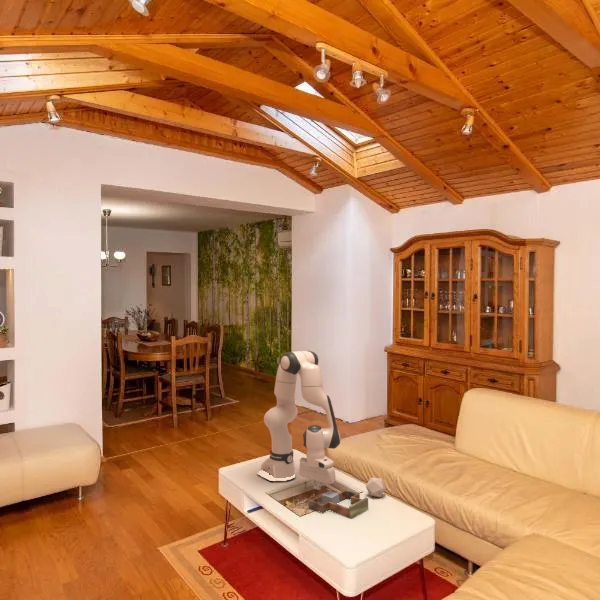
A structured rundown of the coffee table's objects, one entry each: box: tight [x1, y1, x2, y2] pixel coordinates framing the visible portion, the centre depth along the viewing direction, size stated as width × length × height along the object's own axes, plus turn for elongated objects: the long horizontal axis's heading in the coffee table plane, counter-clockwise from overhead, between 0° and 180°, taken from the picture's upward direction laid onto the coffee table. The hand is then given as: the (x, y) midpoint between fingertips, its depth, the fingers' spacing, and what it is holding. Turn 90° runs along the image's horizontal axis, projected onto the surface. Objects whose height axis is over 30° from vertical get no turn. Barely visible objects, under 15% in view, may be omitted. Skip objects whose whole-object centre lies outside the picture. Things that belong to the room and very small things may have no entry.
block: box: [320, 491, 341, 504], centre depth 224 cm, size 6×6×4 cm
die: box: [365, 476, 387, 498], centre depth 232 cm, size 8×9×10 cm
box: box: [308, 487, 369, 519], centre depth 221 cm, size 24×21×5 cm
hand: (317, 489), depth 231 cm, fingers closed
